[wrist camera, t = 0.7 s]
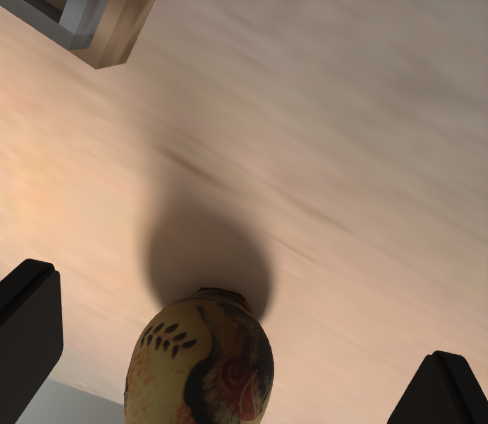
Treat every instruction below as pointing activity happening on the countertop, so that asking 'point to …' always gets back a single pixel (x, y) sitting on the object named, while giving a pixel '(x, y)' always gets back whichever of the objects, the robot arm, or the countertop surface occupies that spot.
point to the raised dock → (87, 25)
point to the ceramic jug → (200, 364)
